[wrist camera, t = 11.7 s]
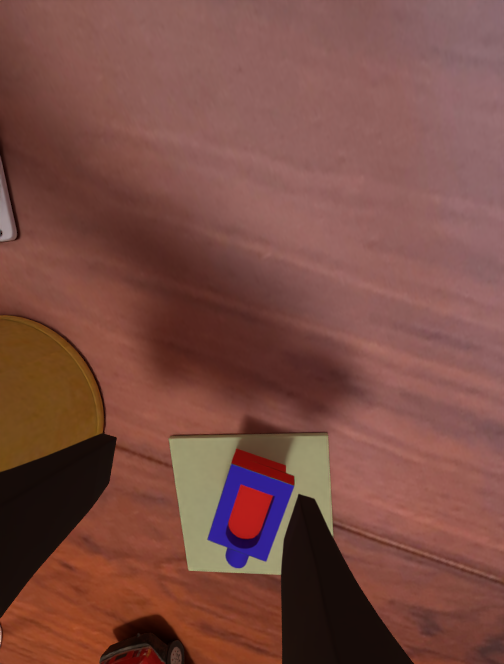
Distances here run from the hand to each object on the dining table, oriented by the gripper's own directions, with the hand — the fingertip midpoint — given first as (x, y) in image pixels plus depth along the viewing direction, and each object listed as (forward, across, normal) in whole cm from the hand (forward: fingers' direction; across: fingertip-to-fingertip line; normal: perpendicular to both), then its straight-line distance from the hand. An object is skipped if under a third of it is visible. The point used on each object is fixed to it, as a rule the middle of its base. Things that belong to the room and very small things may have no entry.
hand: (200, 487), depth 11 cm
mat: (+9, -3, +8) cm, 13 cm away
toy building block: (+7, -3, +2) cm, 8 cm away
